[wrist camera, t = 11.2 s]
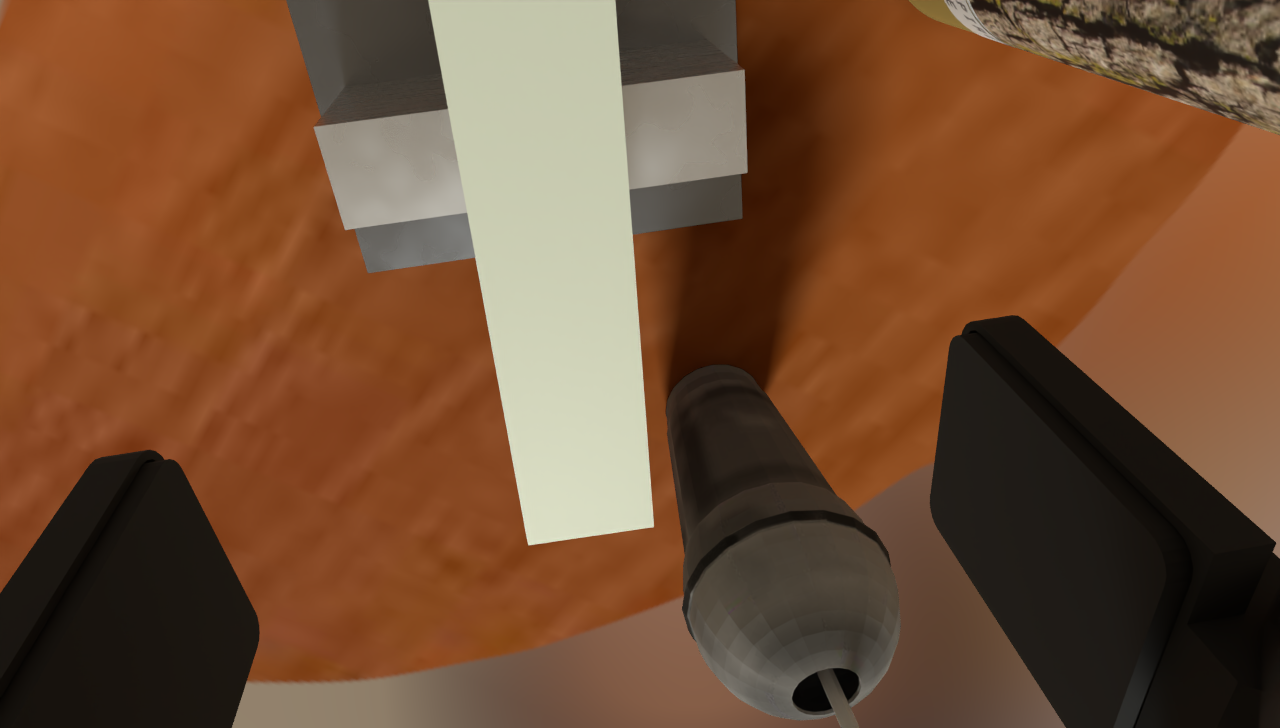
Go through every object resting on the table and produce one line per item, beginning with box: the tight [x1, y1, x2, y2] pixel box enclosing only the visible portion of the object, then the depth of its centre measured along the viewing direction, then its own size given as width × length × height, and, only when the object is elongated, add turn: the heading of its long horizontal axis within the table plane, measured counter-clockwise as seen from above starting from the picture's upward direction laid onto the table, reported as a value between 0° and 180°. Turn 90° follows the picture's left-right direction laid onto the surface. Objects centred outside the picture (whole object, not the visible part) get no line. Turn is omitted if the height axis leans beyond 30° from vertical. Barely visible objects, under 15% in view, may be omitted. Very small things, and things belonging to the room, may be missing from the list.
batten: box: [428, 0, 654, 545], centre depth 22 cm, size 22×4×4 cm, turn 4°
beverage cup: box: [666, 365, 901, 728], centre depth 29 cm, size 7×7×20 cm
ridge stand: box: [286, 0, 748, 273], centre depth 26 cm, size 10×14×7 cm
